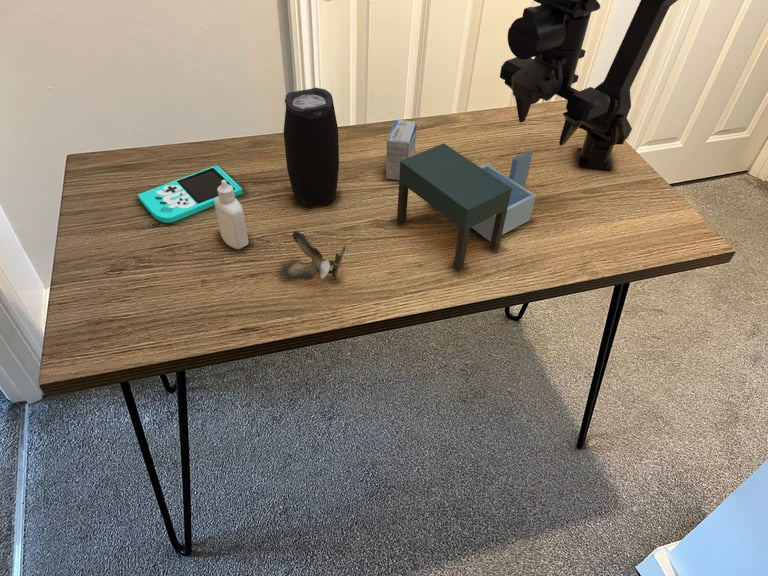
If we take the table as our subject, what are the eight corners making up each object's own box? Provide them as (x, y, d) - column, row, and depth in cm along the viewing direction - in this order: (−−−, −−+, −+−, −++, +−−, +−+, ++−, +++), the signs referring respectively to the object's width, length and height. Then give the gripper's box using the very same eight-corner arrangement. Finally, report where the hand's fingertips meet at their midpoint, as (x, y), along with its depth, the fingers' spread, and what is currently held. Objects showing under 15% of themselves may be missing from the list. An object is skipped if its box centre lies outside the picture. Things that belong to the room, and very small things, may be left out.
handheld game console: (138, 198, 108) (136, 192, 107) (217, 169, 116) (216, 163, 115) (162, 226, 103) (160, 220, 102) (244, 193, 110) (243, 187, 109)
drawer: (498, 180, 115) (506, 137, 108) (545, 211, 108) (557, 167, 102) (443, 206, 109) (448, 162, 102) (490, 241, 102) (499, 196, 95)
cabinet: (437, 202, 110) (443, 142, 101) (499, 248, 101) (512, 188, 93) (396, 221, 106) (400, 160, 97) (457, 271, 97) (467, 210, 88)
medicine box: (408, 182, 114) (410, 142, 108) (385, 179, 115) (386, 139, 109) (414, 160, 120) (417, 121, 114) (393, 157, 120) (394, 118, 114)
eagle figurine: (346, 251, 98) (294, 235, 98) (346, 240, 91) (290, 222, 91) (332, 295, 96) (279, 278, 96) (331, 287, 89) (273, 269, 89)
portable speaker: (281, 199, 109) (269, 99, 96) (315, 176, 115) (309, 79, 101) (315, 217, 106) (308, 117, 92) (349, 193, 111) (347, 95, 97)
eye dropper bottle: (222, 252, 99) (210, 193, 90) (220, 231, 102) (208, 172, 94) (249, 249, 99) (239, 189, 91) (246, 228, 103) (236, 169, 95)
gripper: (484, 34, 94) (470, 123, 105) (577, 79, 84) (551, 173, 95) (531, 19, 99) (514, 106, 110) (625, 60, 89) (595, 151, 100)
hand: (541, 132), depth 103 cm, fingers open, 9 cm apart
